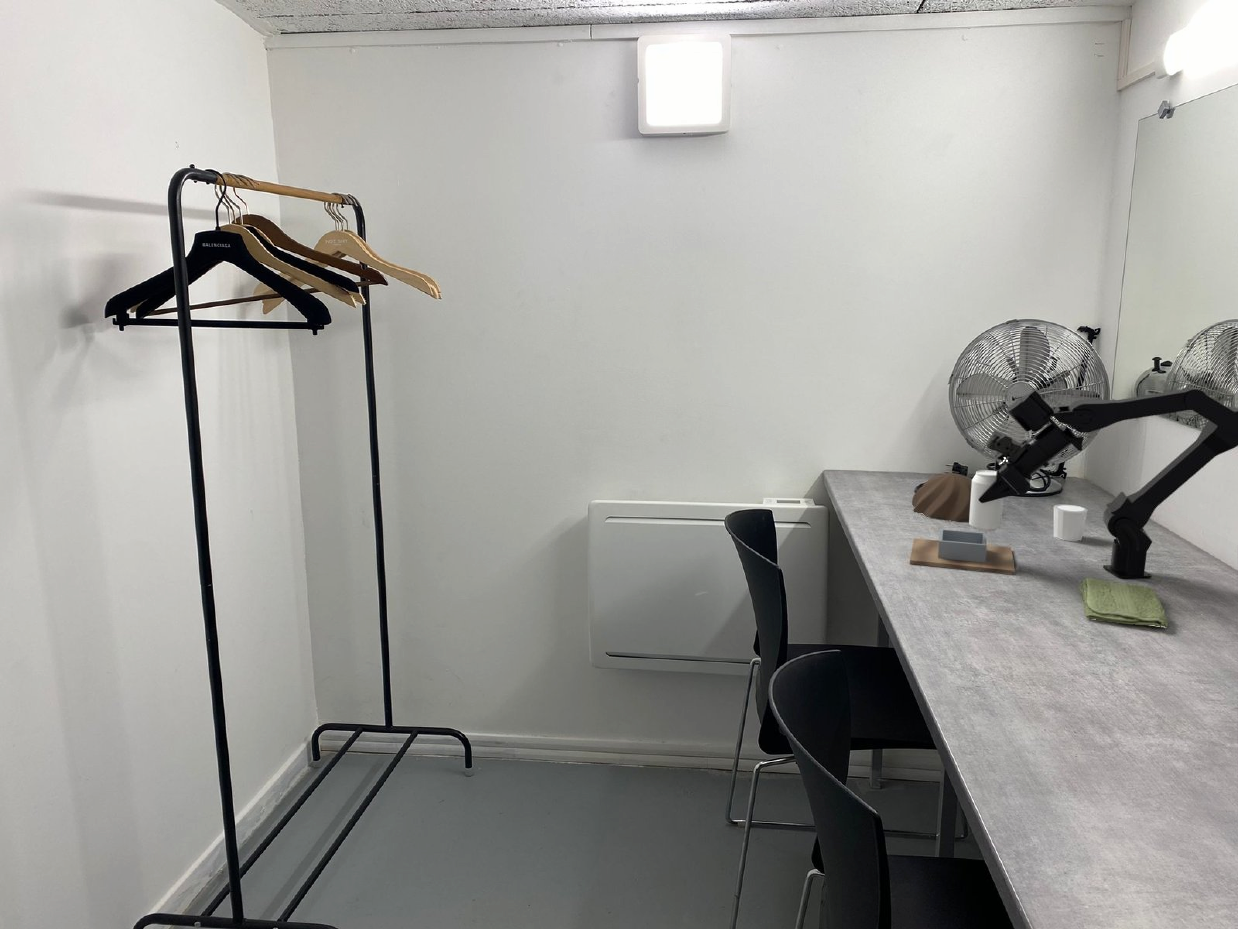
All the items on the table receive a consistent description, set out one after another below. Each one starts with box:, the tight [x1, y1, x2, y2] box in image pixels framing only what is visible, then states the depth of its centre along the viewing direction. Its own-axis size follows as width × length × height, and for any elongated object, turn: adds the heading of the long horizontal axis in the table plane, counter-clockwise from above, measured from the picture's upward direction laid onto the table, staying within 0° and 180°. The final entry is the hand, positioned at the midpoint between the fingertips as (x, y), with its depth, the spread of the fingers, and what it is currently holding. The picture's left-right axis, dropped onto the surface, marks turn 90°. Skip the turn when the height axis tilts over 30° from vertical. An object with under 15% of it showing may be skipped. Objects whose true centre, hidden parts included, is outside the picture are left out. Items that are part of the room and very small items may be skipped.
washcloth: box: [1078, 577, 1169, 628], centre depth 160 cm, size 13×18×3 cm
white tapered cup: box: [1053, 503, 1089, 542], centre depth 201 cm, size 7×7×7 cm
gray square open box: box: [938, 528, 988, 562], centre depth 188 cm, size 9×9×4 cm
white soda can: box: [968, 469, 1004, 533], centre depth 185 cm, size 6×6×12 cm
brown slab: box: [909, 537, 1016, 575], centre depth 189 cm, size 20×16×1 cm
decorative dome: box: [911, 472, 973, 522], centre depth 223 cm, size 19×20×10 cm
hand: (979, 497), depth 185 cm, fingers closed on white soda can, 6 cm apart
